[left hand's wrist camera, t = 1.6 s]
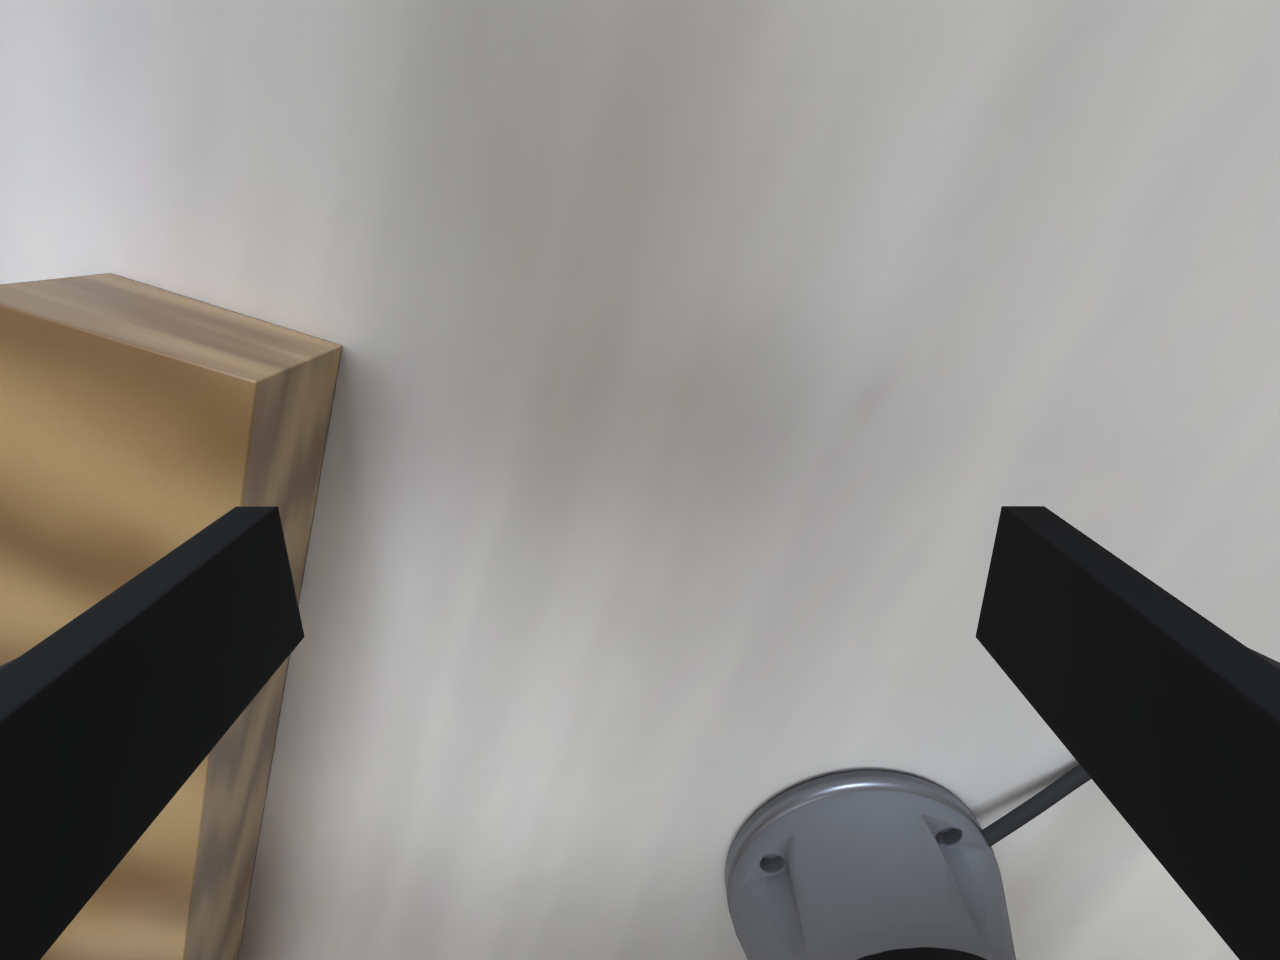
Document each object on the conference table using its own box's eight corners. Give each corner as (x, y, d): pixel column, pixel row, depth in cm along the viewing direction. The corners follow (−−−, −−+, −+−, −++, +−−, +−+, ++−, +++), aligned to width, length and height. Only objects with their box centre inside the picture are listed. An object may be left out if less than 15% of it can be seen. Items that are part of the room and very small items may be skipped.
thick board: (109, 272, 28) (-51, 288, 22) (342, 345, 29) (257, 382, 23) (75, 1017, 45) (-20, 1152, 39) (223, 1047, 47) (155, 1182, 40)
